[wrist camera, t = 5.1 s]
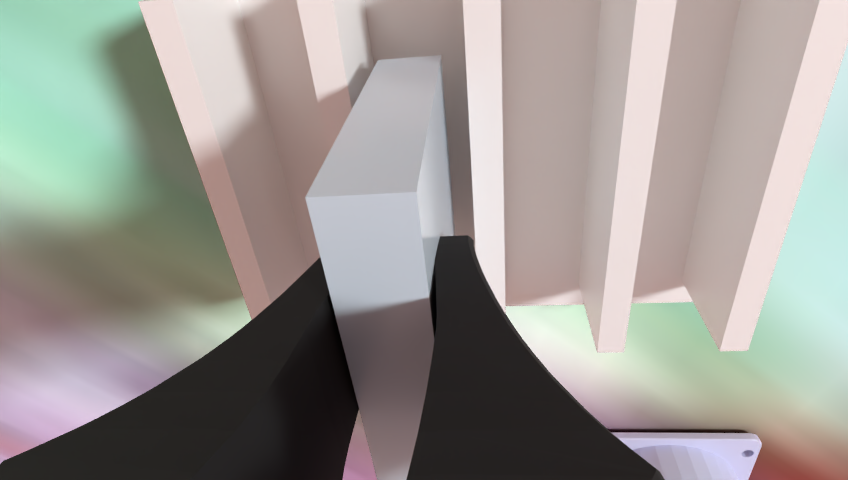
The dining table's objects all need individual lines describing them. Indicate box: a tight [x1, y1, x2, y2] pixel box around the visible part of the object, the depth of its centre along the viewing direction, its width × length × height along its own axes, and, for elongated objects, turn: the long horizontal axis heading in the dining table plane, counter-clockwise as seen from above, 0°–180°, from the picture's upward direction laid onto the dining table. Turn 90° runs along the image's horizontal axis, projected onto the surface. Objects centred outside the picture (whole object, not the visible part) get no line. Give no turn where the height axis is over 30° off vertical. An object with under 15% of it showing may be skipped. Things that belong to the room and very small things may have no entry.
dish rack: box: [138, 0, 848, 353], centre depth 16 cm, size 13×16×4 cm
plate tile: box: [305, 55, 455, 480], centre depth 12 cm, size 7×2×7 cm, turn 6°
